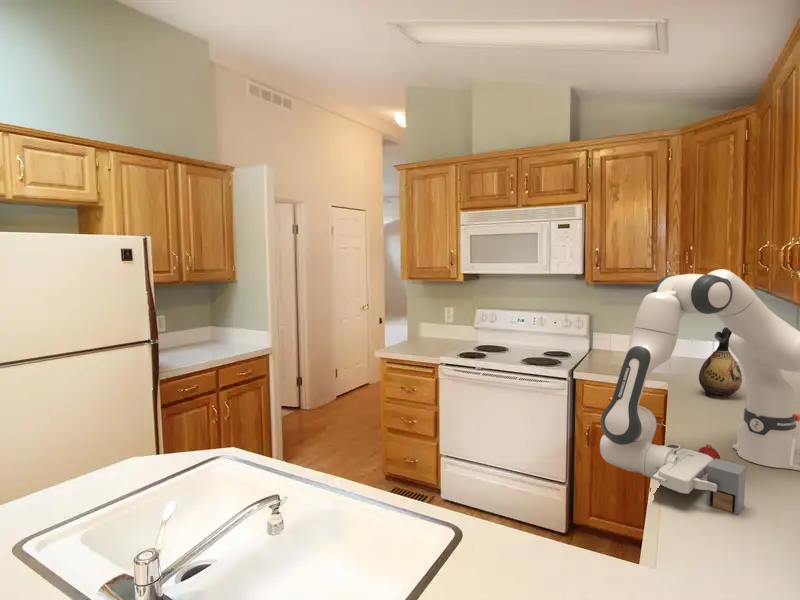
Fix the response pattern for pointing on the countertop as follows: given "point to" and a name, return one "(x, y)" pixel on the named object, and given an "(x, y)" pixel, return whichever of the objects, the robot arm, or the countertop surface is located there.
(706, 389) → the ceramic jug
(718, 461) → the grey block
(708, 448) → the pomegranate
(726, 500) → the letter block
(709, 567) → the countertop surface
